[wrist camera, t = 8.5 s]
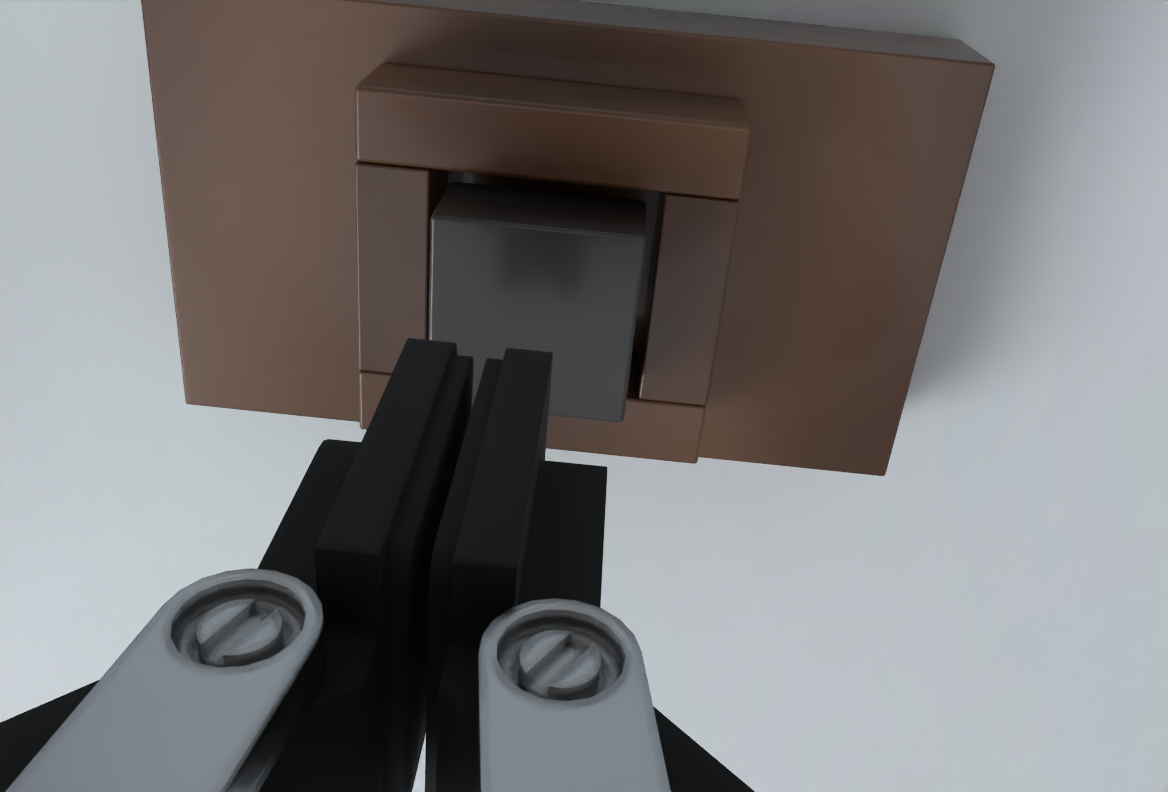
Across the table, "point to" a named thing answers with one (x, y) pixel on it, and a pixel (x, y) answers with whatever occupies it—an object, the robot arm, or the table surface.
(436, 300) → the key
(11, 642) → the table surface
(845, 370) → the key block
